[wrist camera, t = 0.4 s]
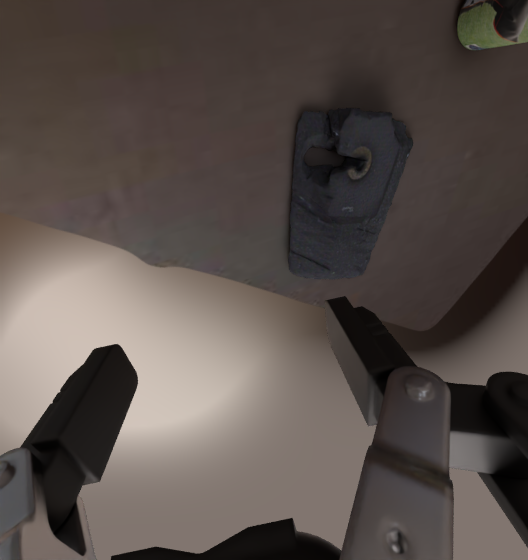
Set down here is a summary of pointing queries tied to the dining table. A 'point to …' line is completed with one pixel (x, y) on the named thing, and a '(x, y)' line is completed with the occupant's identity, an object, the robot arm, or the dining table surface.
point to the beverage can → (492, 23)
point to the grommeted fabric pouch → (343, 190)
